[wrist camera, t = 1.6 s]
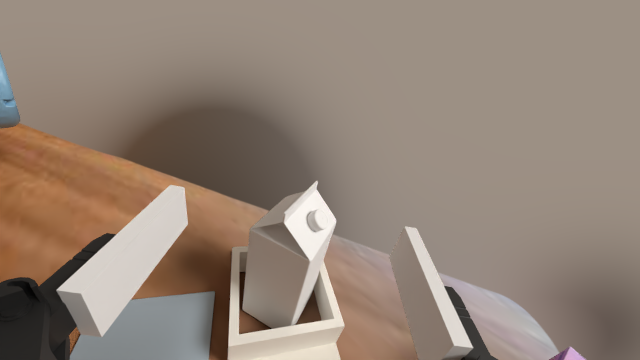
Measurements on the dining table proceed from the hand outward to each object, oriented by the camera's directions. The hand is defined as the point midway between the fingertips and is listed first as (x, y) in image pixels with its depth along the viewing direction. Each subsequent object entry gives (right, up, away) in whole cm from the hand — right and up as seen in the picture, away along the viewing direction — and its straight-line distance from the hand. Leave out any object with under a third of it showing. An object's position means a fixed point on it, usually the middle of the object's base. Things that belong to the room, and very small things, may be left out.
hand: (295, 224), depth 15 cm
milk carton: (-4, -15, +20) cm, 25 cm away
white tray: (-4, -15, +19) cm, 25 cm away
